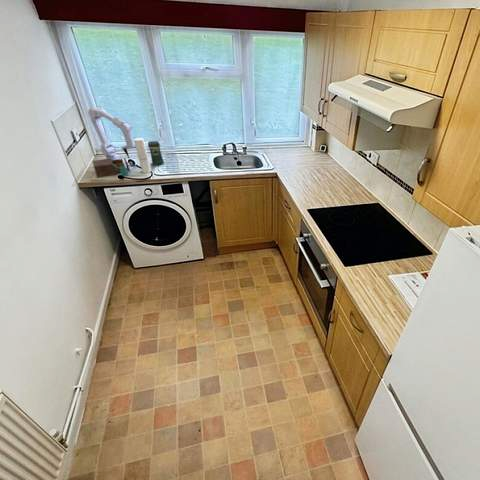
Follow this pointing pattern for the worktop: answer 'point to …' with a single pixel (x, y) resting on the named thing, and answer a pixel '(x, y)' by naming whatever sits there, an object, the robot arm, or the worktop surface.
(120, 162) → the drawer
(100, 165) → the cabinet
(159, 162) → the coffee jar
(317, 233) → the worktop surface
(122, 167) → the scoop
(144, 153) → the cylindrical container
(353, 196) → the worktop surface
